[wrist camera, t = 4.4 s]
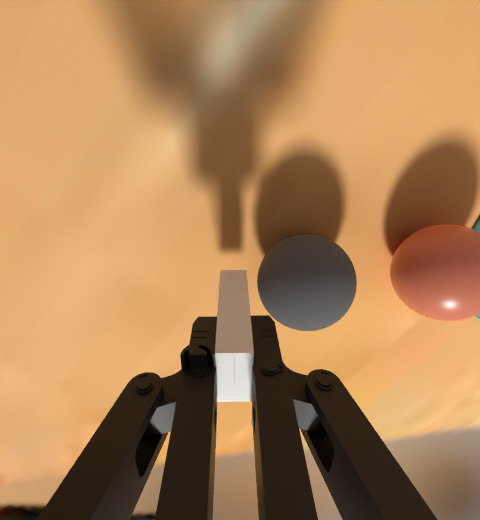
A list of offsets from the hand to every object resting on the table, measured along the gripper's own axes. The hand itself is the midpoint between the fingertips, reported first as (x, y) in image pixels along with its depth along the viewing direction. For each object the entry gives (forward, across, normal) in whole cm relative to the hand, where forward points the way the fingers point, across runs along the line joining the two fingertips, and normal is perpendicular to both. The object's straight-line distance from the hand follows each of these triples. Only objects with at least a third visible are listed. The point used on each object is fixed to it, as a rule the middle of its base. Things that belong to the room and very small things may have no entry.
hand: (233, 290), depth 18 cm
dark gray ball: (0, +4, +1) cm, 4 cm away
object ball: (0, +12, +1) cm, 12 cm away
